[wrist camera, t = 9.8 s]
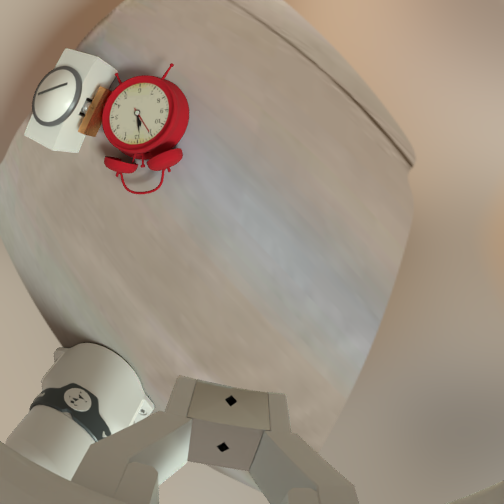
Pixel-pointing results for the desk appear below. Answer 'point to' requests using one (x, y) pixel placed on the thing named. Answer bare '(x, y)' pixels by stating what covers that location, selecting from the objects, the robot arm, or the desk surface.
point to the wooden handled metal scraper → (94, 112)
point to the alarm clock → (145, 124)
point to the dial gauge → (66, 99)
